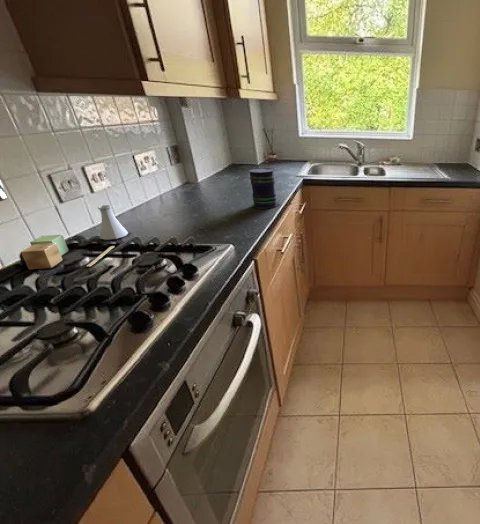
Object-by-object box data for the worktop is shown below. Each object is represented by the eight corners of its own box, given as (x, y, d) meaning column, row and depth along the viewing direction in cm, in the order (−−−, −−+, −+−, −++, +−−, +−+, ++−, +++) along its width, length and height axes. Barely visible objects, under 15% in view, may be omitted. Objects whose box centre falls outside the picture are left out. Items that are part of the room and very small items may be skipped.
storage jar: (264, 210, 137) (258, 165, 129) (248, 206, 142) (242, 162, 134) (282, 204, 144) (278, 162, 137) (267, 201, 149) (262, 160, 142)
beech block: (28, 269, 85) (20, 251, 83) (41, 261, 89) (33, 244, 87) (51, 267, 86) (43, 250, 84) (63, 260, 90) (55, 243, 88)
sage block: (37, 259, 91) (29, 242, 89) (48, 251, 95) (41, 235, 93) (58, 257, 92) (51, 240, 90) (69, 250, 96) (62, 234, 94)
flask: (112, 232, 110) (102, 202, 106) (133, 232, 110) (124, 203, 106) (94, 240, 104) (83, 209, 100) (117, 240, 104) (107, 209, 99)
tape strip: (86, 266, 87) (86, 266, 87) (110, 246, 99) (110, 246, 99) (90, 266, 87) (90, 265, 87) (114, 246, 99) (114, 246, 99)
